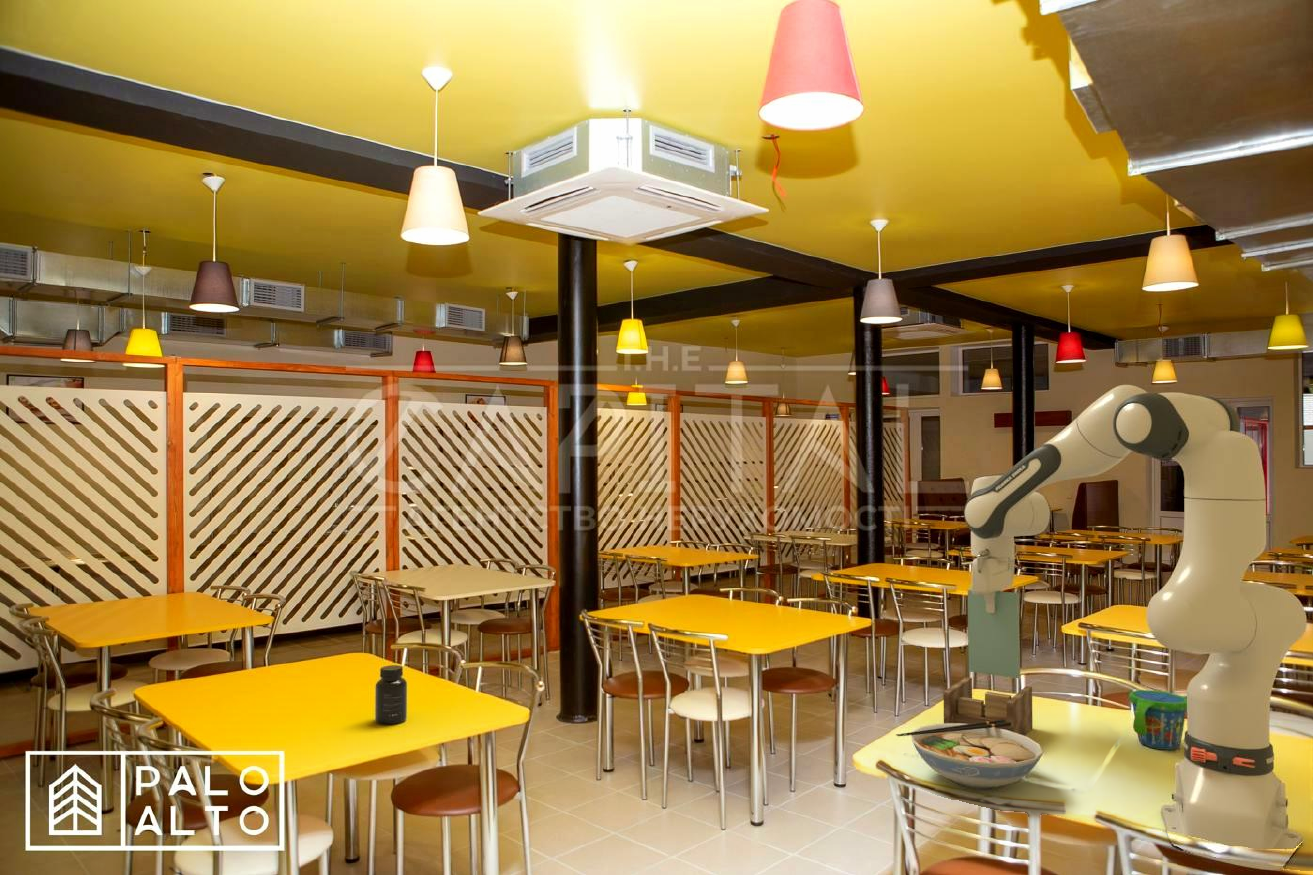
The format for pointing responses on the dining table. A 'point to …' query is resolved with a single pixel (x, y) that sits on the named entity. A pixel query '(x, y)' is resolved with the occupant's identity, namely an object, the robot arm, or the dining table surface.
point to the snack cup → (1158, 718)
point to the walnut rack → (1016, 708)
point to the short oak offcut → (971, 706)
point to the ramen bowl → (976, 752)
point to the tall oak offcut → (996, 705)
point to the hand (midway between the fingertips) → (993, 611)
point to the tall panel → (994, 635)
